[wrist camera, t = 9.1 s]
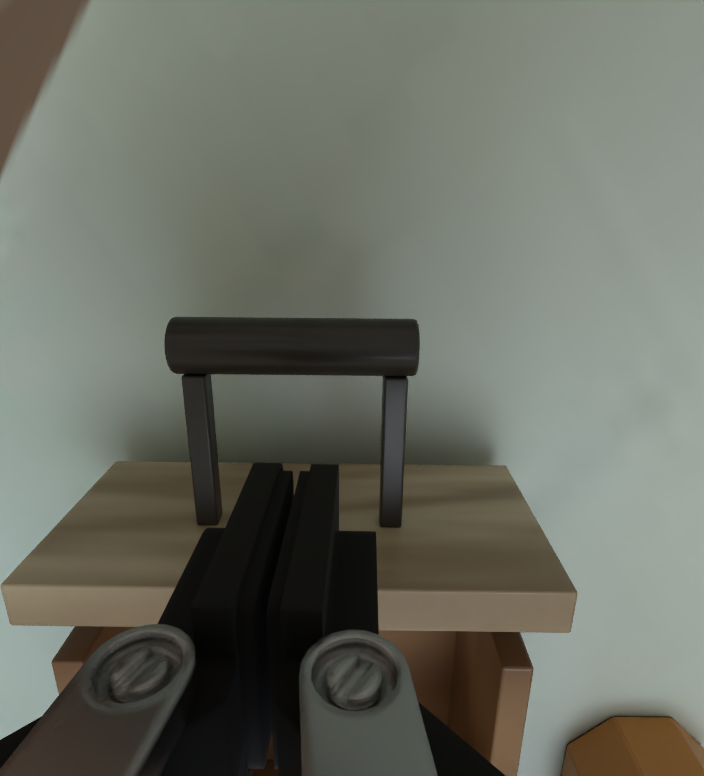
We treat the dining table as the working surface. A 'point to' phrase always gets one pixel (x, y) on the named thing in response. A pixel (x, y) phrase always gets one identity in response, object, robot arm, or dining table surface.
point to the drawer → (356, 513)
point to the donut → (635, 750)
